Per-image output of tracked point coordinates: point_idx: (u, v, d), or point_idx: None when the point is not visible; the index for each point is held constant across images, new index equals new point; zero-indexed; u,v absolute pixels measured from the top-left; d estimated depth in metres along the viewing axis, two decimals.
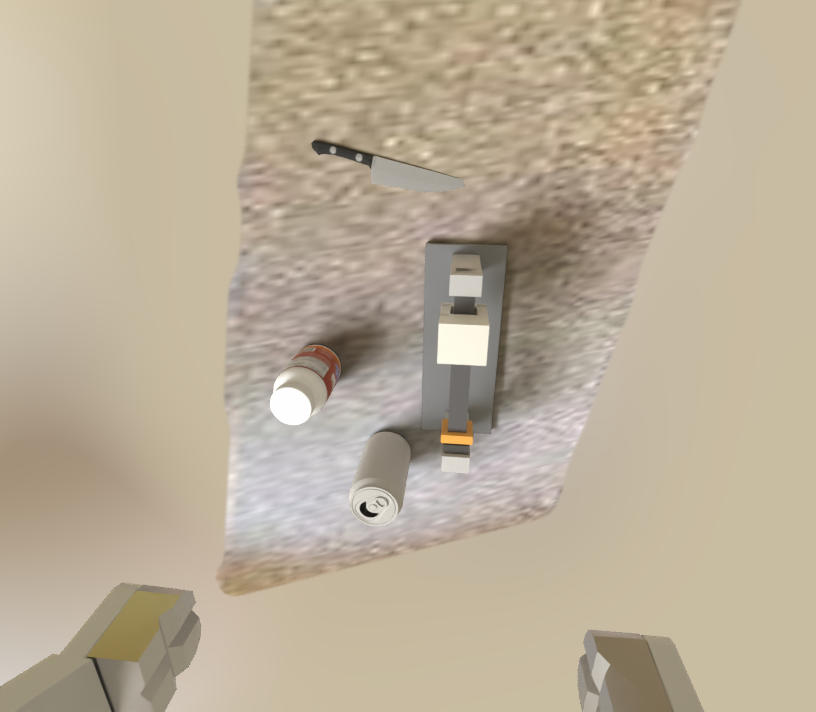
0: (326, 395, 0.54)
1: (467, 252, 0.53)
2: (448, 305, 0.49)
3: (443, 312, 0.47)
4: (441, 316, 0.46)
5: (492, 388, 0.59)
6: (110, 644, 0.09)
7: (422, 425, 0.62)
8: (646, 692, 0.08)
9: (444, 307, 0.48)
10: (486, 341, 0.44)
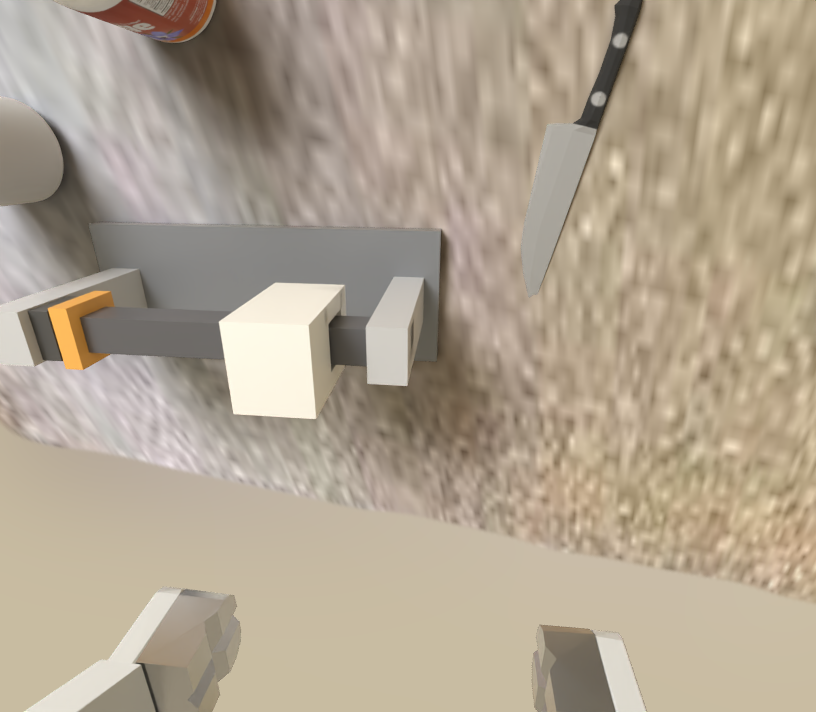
0: (83, 10, 0.22)
1: (427, 302, 0.32)
2: (341, 302, 0.26)
3: (329, 308, 0.24)
4: (322, 314, 0.22)
5: None
6: (158, 650, 0.08)
7: (97, 226, 0.33)
8: (589, 686, 0.08)
9: (337, 299, 0.25)
10: (283, 414, 0.22)
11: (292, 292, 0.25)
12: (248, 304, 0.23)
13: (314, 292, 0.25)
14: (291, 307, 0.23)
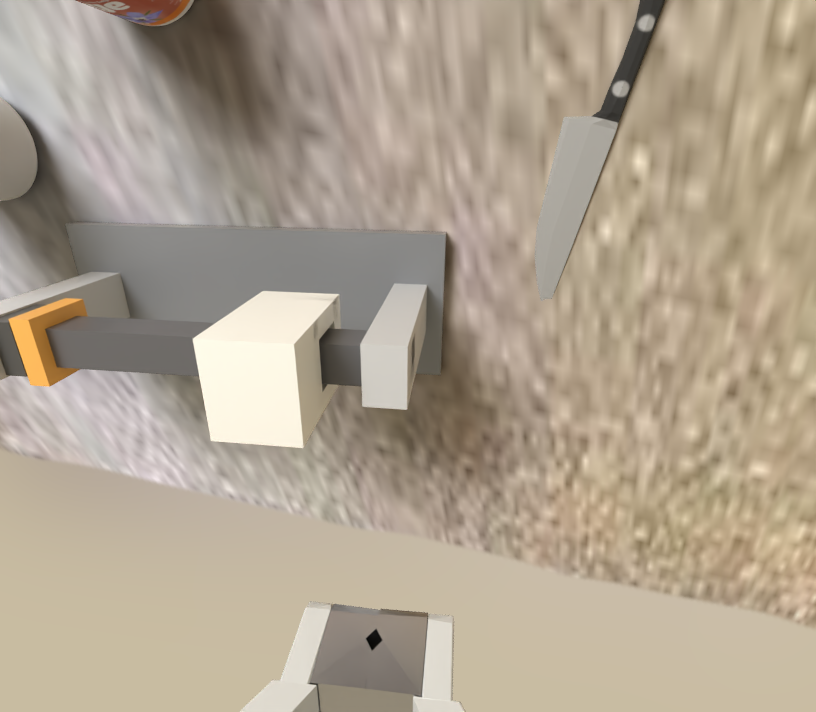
0: None
1: (430, 311, 0.30)
2: (335, 313, 0.23)
3: (320, 322, 0.21)
4: (311, 329, 0.20)
5: None
6: (329, 669, 0.08)
7: (74, 226, 0.30)
8: (405, 665, 0.08)
9: (330, 311, 0.23)
10: (267, 442, 0.20)
11: (280, 302, 0.23)
12: (228, 317, 0.20)
13: (304, 303, 0.23)
14: (277, 321, 0.20)
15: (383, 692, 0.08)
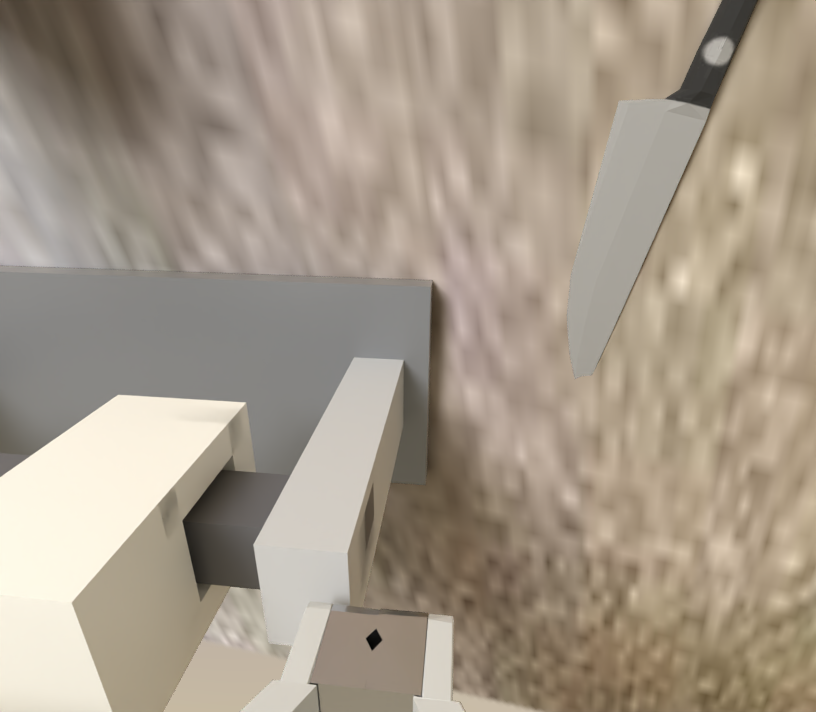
0: None
1: (408, 397, 0.20)
2: (235, 441, 0.13)
3: (185, 485, 0.11)
4: (150, 521, 0.10)
5: None
6: (329, 669, 0.08)
7: None
8: (405, 665, 0.08)
9: (219, 446, 0.12)
10: None
11: (129, 429, 0.13)
12: None
13: (173, 431, 0.13)
14: (88, 498, 0.10)
15: (383, 692, 0.08)
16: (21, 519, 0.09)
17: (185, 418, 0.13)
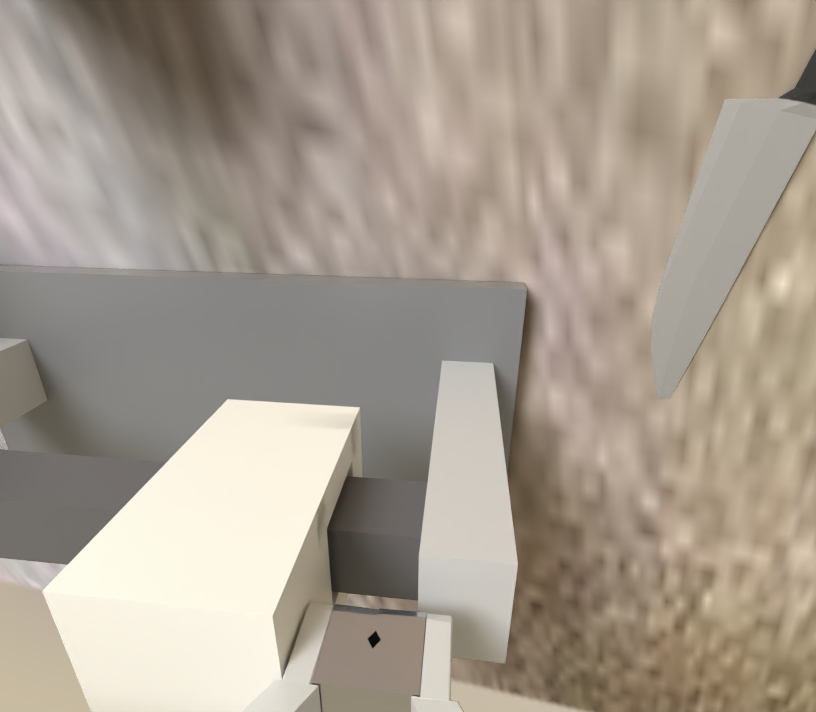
0: None
1: None
2: (353, 447, 0.13)
3: (329, 493, 0.11)
4: (312, 530, 0.10)
5: (133, 455, 0.23)
6: (331, 669, 0.08)
7: None
8: (404, 665, 0.08)
9: (346, 452, 0.12)
10: None
11: (255, 435, 0.12)
12: (147, 494, 0.10)
13: (299, 437, 0.12)
14: (242, 506, 0.10)
15: (381, 692, 0.08)
16: (185, 528, 0.09)
17: (305, 423, 0.13)
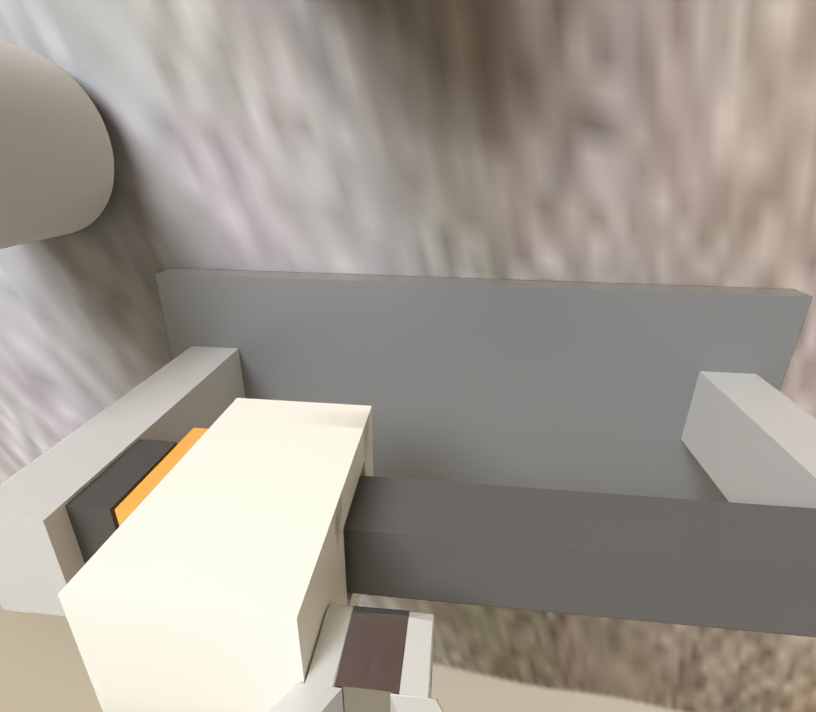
0: None
1: None
2: (366, 446, 0.13)
3: (345, 492, 0.11)
4: (330, 530, 0.09)
5: None
6: (353, 672, 0.08)
7: (170, 278, 0.19)
8: (384, 663, 0.08)
9: (359, 451, 0.12)
10: None
11: (267, 434, 0.12)
12: (160, 494, 0.10)
13: (312, 436, 0.12)
14: (259, 506, 0.10)
15: (361, 689, 0.08)
16: (201, 529, 0.09)
17: (318, 422, 0.13)
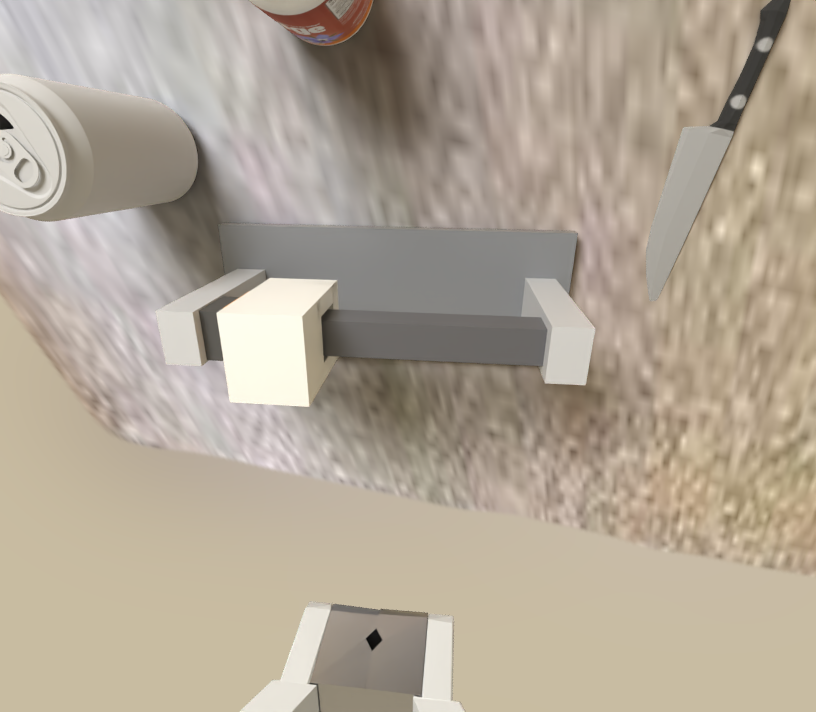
0: (282, 13, 0.22)
1: None
2: (333, 296, 0.27)
3: (322, 301, 0.25)
4: (315, 306, 0.23)
5: None
6: (329, 670, 0.08)
7: (226, 227, 0.33)
8: (405, 665, 0.08)
9: (330, 294, 0.26)
10: (278, 402, 0.23)
11: (286, 286, 0.26)
12: (244, 297, 0.24)
13: (307, 287, 0.26)
14: (285, 300, 0.24)
15: (383, 692, 0.08)
16: (263, 303, 0.23)
17: (310, 283, 0.27)
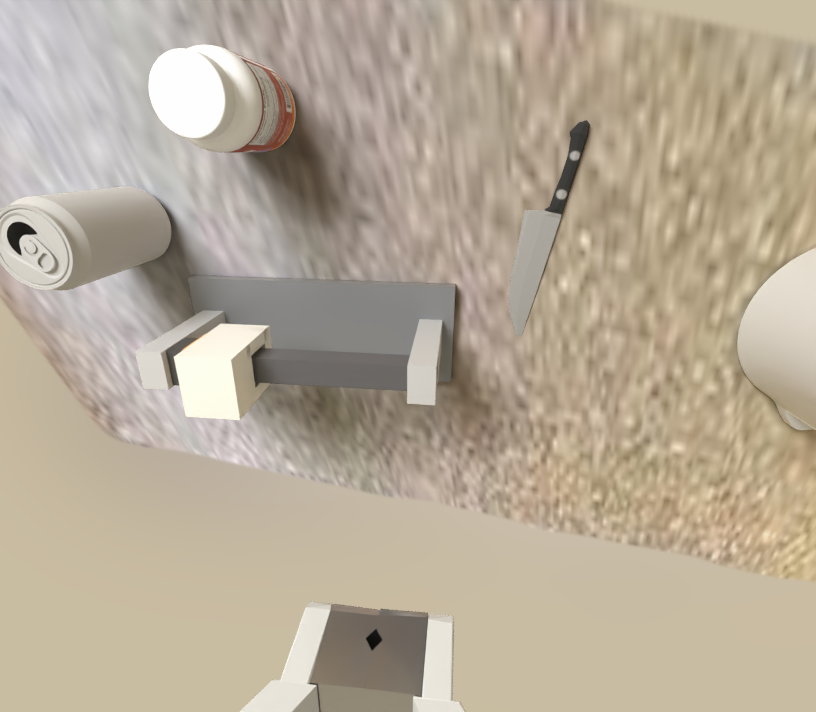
0: (218, 151, 0.32)
1: (444, 338, 0.43)
2: (265, 338, 0.37)
3: (252, 345, 0.35)
4: (244, 350, 0.34)
5: None
6: (329, 669, 0.08)
7: (194, 279, 0.43)
8: (405, 665, 0.08)
9: (261, 337, 0.36)
10: (218, 416, 0.34)
11: (230, 332, 0.36)
12: (196, 343, 0.34)
13: (245, 332, 0.36)
14: (224, 345, 0.34)
15: (383, 692, 0.08)
16: (208, 348, 0.33)
17: (248, 329, 0.37)
